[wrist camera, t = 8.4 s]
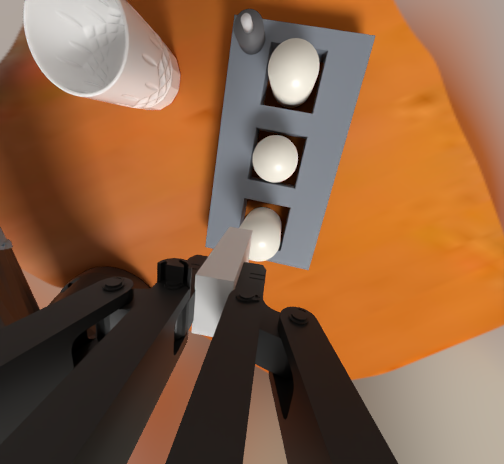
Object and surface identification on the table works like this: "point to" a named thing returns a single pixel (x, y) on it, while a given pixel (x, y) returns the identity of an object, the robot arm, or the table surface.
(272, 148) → the white oval solid
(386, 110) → the table surface
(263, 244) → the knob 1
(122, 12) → the white cup
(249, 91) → the grey egg holder
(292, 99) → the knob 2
